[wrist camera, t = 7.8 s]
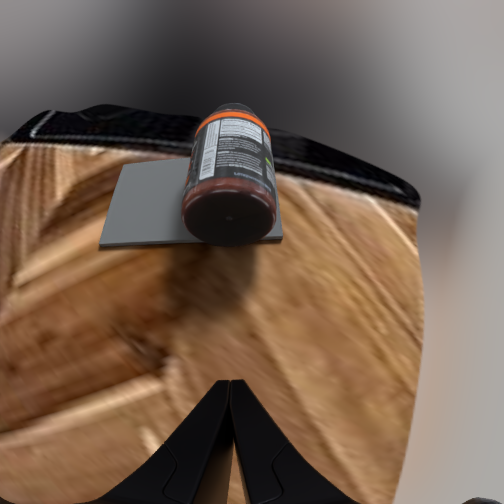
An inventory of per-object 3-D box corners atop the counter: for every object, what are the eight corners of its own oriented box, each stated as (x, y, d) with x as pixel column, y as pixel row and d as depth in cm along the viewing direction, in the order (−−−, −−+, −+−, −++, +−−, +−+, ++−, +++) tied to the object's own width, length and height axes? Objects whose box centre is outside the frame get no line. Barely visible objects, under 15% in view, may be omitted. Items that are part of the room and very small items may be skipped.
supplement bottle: (184, 250, 20) (201, 148, 26) (271, 252, 20) (264, 149, 26) (172, 189, 15) (198, 92, 21) (285, 192, 15) (271, 94, 21)
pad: (282, 239, 21) (282, 235, 21) (100, 246, 21) (98, 243, 20) (271, 157, 26) (272, 154, 25) (125, 167, 26) (123, 164, 25)
